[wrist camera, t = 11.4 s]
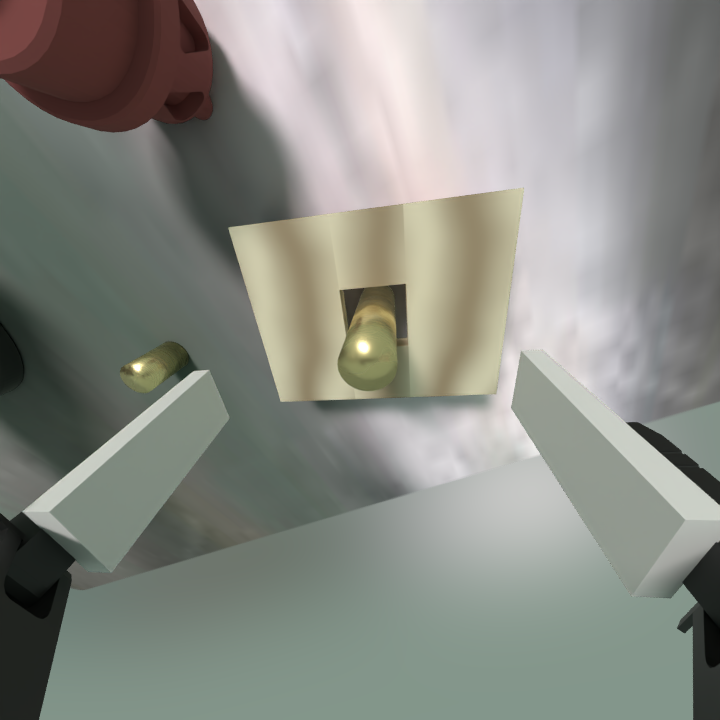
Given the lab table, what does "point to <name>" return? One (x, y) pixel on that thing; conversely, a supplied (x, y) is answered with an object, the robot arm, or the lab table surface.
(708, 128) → the lab table surface
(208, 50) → the mechanical component
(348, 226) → the stand
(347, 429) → the lab table surface
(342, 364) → the long pin
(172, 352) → the short pin
